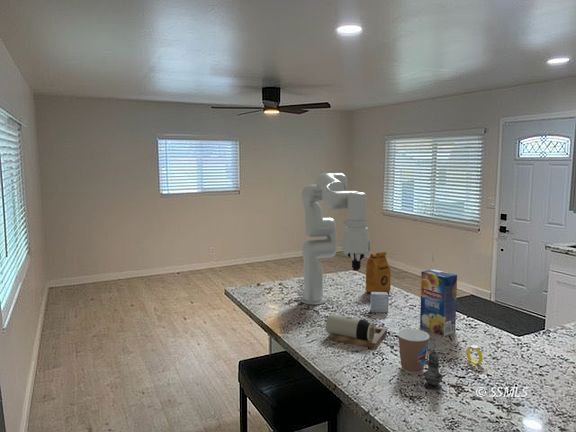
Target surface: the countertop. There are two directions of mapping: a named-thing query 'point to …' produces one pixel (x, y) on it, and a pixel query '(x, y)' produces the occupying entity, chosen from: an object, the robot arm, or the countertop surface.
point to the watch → (478, 354)
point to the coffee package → (377, 273)
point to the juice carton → (438, 301)
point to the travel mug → (350, 327)
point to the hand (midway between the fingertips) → (356, 270)
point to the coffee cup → (412, 349)
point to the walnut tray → (378, 337)
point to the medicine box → (379, 302)
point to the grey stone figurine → (433, 372)
